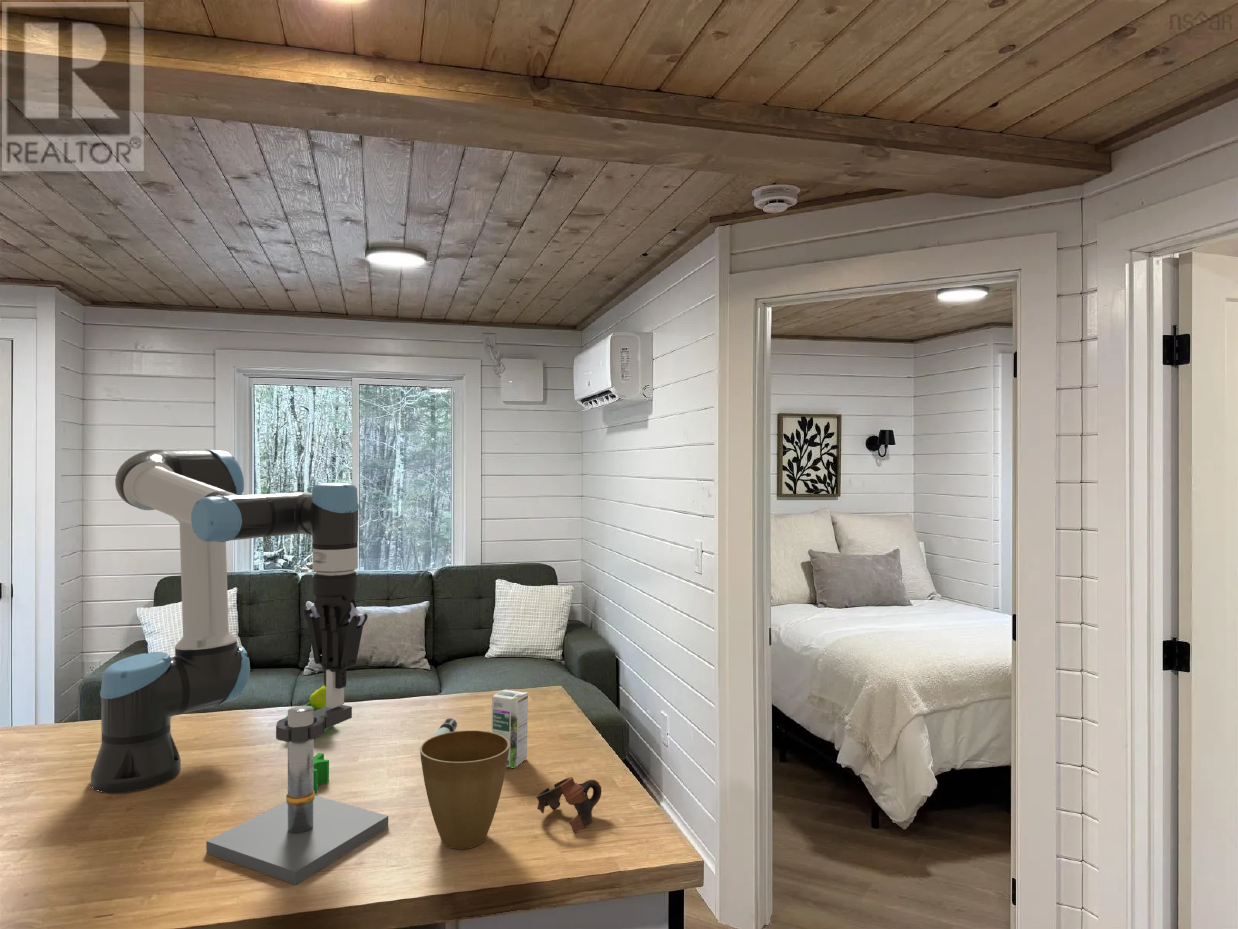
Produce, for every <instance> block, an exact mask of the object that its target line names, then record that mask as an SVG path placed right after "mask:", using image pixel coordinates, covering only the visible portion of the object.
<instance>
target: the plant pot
mask: <svg viewBox="0 0 1238 929" xmlns="http://www.w3.org/2000/svg"><path fill="white" fill-rule="evenodd" d="M419 747H420V748H419V755H420V761H421V770H422V776H423V780H424V787H425V792H426V796H427V799H428V804H429V808H430V811H431V815H432V818H433V821H434V824H435V827H436V829H437V833H438V836H439V838H440V840H441V842H442V844H443V845H444V846H445V847H448V848H450V849H453V850H454V849H456V850H464V849H465V850H466V849H472V848H475V847H477V846H480V845H481V844H483V843H484V842H485V841H486V839H487V836H488V833H489V832H490V828H491V825H492V823H493V820H494V817H495V814H496V811H497V807H498V804H499V801H500V797H501V793H502V789H503V784H504V780H505V775H506V771H507V770H506V769H507V767H506V766H507V760H508V754H509V747H510V742H509V741H508V739H507V738H505V737H504V736H502V735H499V734H497V733H493V732H492V731H489V730H488V731H487V730H478V729H477V730H475V729H473V730H468V729H467V730H466V729H465V730H457V731H456V730H455V731H454V732H448V733H444V734H440V735H437V736H434V735H433V736H432V737H430V738H427V739H426V740H425V741H423V743H422V744H421V745H420V746H419Z"/></svg>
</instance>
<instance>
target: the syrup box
mask: <svg viewBox="0 0 1238 929" xmlns="http://www.w3.org/2000/svg"><path fill="white" fill-rule="evenodd" d="M491 708H492V709H491V732H493V733H497V734H499V735H502V736H504V737H505V738H507V739H508V741H509V742H510V747H509V754H508V760H507V766H506V768H508V767H513V768H515V767H516V766H517V765H519V764H520V763H521V762H522V761H524V760H525V759H526V758H527V759H528V722H529V721H528V720H529V719H528V714H529V713H528V712H529V692H525V691H524V692H523V691H516V690H510V689H503V690H500V691H498V692H497V693H495V694H494V695H493V696H492V699H491ZM527 759H526V760H527ZM526 760H525V761H526ZM525 761H524V762H525ZM521 764H522V763H521ZM521 764H520V765H521ZM520 765H519V766H520ZM517 767H518V766H517ZM517 767H516V768H517ZM516 768H515V769H516Z"/></svg>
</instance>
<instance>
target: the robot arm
mask: <svg viewBox="0 0 1238 929" xmlns="http://www.w3.org/2000/svg"><path fill="white" fill-rule="evenodd" d="M115 475H116V476H115V479H114V480H115V482H114V483H115V489H116V493H117V494H118V496H119V497H120V498H121V500H123V501H124V502H125V503H126V504H128V505H130V506H131V507H134V508H137V509H138V510H139V509H140V510H142V511H143V510H144V511H154V510H156V511H158V512H161V513H163V514H165V515H168V516H170V517H172V518H173V519H175V520H176V521H177V522H178V523H179V546H180V547H179V549H180V550H179V552H180V580H181V612H182V613H181V615H182V616H181V617H182V638H181V639H180V640H179V641H177V643H175V645H174V653H175V654H174V656H172V657H171V656H170V654H169V653H167V652H163V651H153V652H149V653H139V654H136V655H132V656H128V657H125V658H122V659H120V660H117V661H115V662H114V663H112V664H111V665H109V666H108V667H107V668H105V670H104V671H103V673H102V676H101V687H100V690H99V694H100V704H101V705H100V708H101V710H100V712H101V713H100V715H101V716H100V717H101V718H100V719H101V725H100V726H101V727H100V728H101V730H100V731H101V742H100V743H101V744H100V747H99V750H98V752H97V755H96V758H95V762H94V764H93V768H92V769H91V770H92V771H91V773H90V787H91V788H92V787H93V788H94V789H95V790H94V789H93V788H92V789H93V790H94V791H96V790H99V791H102V792H101V793H104V792H106V793H107V794H121V793H123V794H124V793H130V792H137V791H142V790H146V789H151V788H153V787H156V786H158V785H161V784H165V783H166V782H168V781H171V780H172V779H174V778H175V777H176V776H178V775H179V773H180V772H181V767H182V766H181V761H182V760H181V756H180V752H179V751H178V748H177V746H176V742H175V740H174V737H173V735H172V732H171V731H172V730H171V729H172V728H171V718H172V717H176V716H178V715H182V714H183V715H184V714H186V713H190V712H191V713H192V712H194V711H198V710H202V709H206V708H210V707H218V706H220V705H223V704H225V703H228V702H231V701H234V700H236V699H237V698H238V697H240V696H241V695H242V694H243V692H244V691H245V689H246V687H247V685H248V682H249V680H250V679H249V678H250V672H251V667H250V666H251V665H250V658H249V656H248V652H247V650H246V649H245V647H244V646H243V645H241V644H238V638H237V637H236V636H234V634H232V633H231V632H230V630H229V625H230V624H229V601H228V600H229V598H228V572H227V571H228V569H227V568H228V567H227V566H228V564H227V563H228V562H227V542H229V541H239V540H248V539H258V538H269V537H280V536H292V535H307V536H308V535H310V536H311V537H312V543H311V544H312V545H311V548H312V570H313V571H314V572H315V573H313V575H311V576H312V579H311V582H312V583H311V584H312V585H311V590H312V591H311V592H312V595H314V596H315V599H314V601H313V602H314V604H313V605H312V606H311V607H309V608H305V609H303V615H304V617H305V619H306V621H307V626H308V631H309V636H310V643H311V647H312V648H311V649H312V655H313V659H314V660H313V661H314V663H315V664H316V665H320V666H321V667H322V669H323V685H325V686H326V707H328V708H335V707H337V706H340V705H345V688H346V686H347V669H348V668H350V667H353V666H355V665H356V664H357V662H358V661H357V660H358V656H359V651H360V643H361V639H362V635H363V629H364V625H365V624H366V622H367V620H368V617H369V615H368V614H367V613H366V612H364V613H362V612H360V610H358V607H357V606H358V605H357V602H356V599H355V596H356V594H357V592H358V590H359V573H358V572H357V571H356V570H358V568H359V553H358V550H359V549H358V547H359V546H358V544H359V543H358V541H359V535H358V534H359V509H360V506H359V501H358V488H357V486H356V485H355V484H354V483H347V482H346V483H345V482H344V483H343V482H342V483H341V482H328V483H327V482H326V483H325V482H324V483H323V482H322V483H316V484H315V485H313V487H312V492H307V491H305V492H304V491H301V490H294V491H292V490H291V491H290V490H289V491H284V492H281V493H279V492H278V493H264V494H263V493H262V494H261V493H260V494H243V493H244V490H245V480H244V474H243V471H242V468H241V466H240V463H239V461H238V460H237V459H236V457H234V455H232V454H231V453H229V452H228V451H225V450H219V449H218V450H217V449H207V448H206V449H152V450H145V451H142V452H139V453H136V454H134V455H133V456H130V457H129V458H128V459H127V460H125V461H124V462H123V464H121V465H120V467H119V468H118V470H117V472H116V474H115ZM99 791H98V792H99Z"/></svg>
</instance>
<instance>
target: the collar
mask: <svg viewBox="0 0 1238 929" xmlns="http://www.w3.org/2000/svg"><path fill="white" fill-rule="evenodd" d="M352 718H353V706H350V705H346V704H342V705H340V706H337V707H335V708H328V707H324V708H321V709H319V710H316V711H314V723H313V724H311V725H308V726H303V727H289V726H288V717H286V716H285V717H284V718H282V719H279V720H277V722H276V725H275V739H276V740H277V741H282V742H285V743H288V742H290V741H291V742H300V741H308V739H310V740H312V739H314V740H315V739H317V738H319V737H321V736H323V735H324V734H325V731H324V730H325V729H326V728H328V729H330V728H331V726H332V727H333V726H336V725H338V724H340V723H344V722H345V721H347V720H350V719H352ZM329 727H330V728H329Z"/></svg>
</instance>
